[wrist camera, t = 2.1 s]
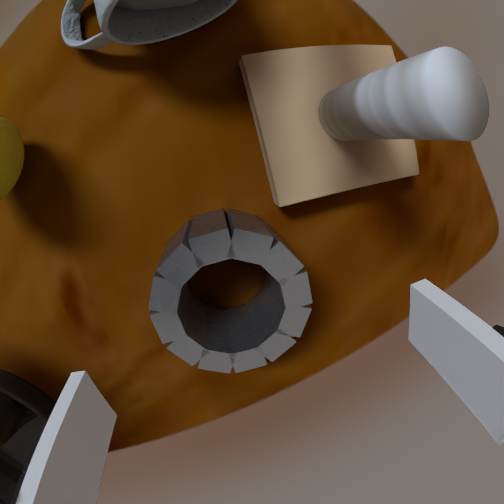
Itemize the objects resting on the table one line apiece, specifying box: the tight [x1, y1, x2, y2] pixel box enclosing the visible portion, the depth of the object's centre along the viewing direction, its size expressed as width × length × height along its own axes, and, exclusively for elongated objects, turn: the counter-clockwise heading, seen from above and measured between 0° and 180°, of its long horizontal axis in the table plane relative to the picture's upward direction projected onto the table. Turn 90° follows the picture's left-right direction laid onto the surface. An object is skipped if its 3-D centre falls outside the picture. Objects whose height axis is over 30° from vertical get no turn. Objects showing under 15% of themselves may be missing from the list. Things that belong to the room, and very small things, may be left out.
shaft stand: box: [239, 45, 489, 207], centre depth 12 cm, size 10×9×11 cm
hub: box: [148, 208, 313, 373], centre depth 17 cm, size 8×8×5 cm
